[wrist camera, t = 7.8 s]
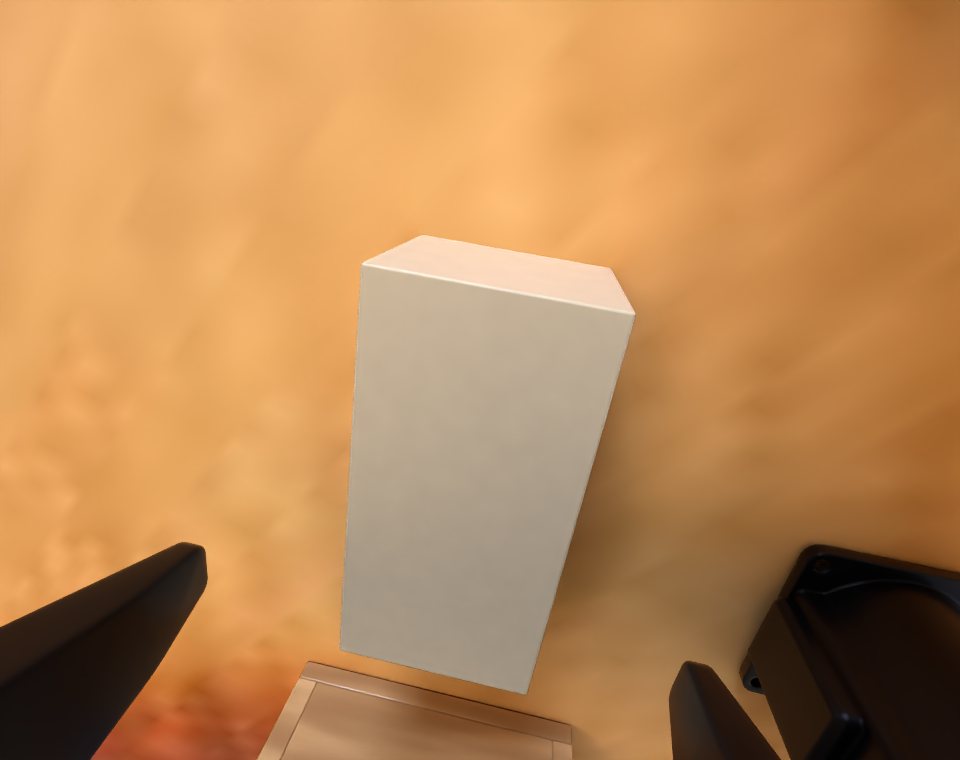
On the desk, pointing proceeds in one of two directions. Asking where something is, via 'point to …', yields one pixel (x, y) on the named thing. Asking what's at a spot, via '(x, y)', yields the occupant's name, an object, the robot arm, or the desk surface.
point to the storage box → (402, 724)
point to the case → (472, 450)
